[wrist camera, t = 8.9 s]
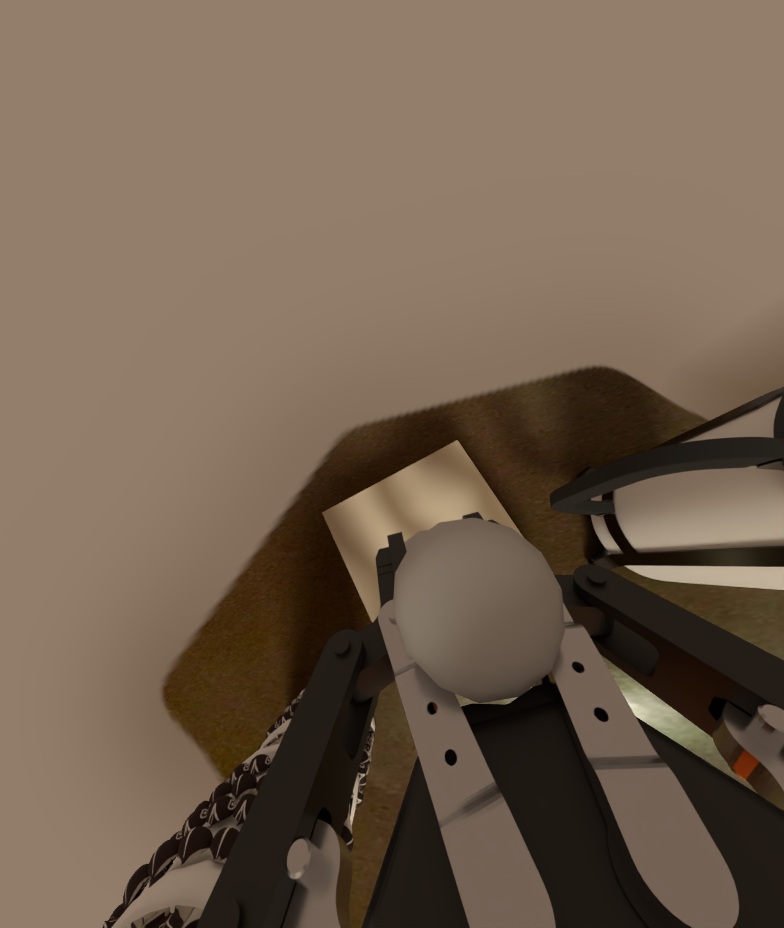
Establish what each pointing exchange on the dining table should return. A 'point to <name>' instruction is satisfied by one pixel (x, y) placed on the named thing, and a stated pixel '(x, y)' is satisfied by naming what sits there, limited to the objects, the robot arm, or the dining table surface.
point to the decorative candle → (211, 843)
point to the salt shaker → (478, 609)
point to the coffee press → (694, 502)
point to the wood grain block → (408, 512)
